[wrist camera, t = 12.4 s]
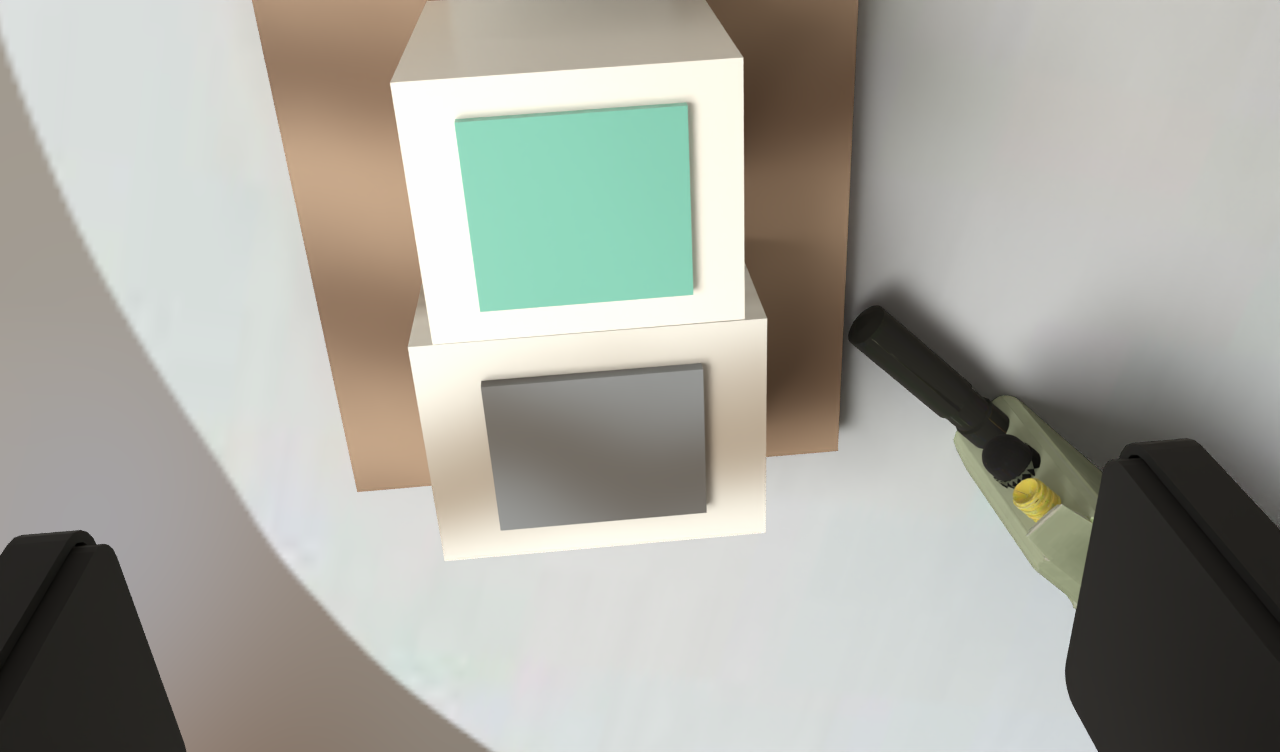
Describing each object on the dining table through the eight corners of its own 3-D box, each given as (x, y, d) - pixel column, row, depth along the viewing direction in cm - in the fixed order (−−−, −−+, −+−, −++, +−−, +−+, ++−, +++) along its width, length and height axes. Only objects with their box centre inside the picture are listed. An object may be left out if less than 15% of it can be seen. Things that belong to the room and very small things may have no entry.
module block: (426, 1, 25) (388, 85, 19) (693, -18, 25) (745, 60, 19) (456, 211, 27) (431, 349, 21) (699, 193, 28) (746, 324, 21)
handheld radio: (1265, 717, 42) (806, 345, 32) (1339, 662, 41) (888, 263, 31) (1390, 869, 36) (873, 469, 26) (1480, 809, 35) (977, 372, 25)
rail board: (169, -445, 22) (52, -507, 17) (867, -479, 23) (967, -549, 17) (362, 472, 33) (328, 610, 28) (829, 432, 33) (884, 560, 28)
